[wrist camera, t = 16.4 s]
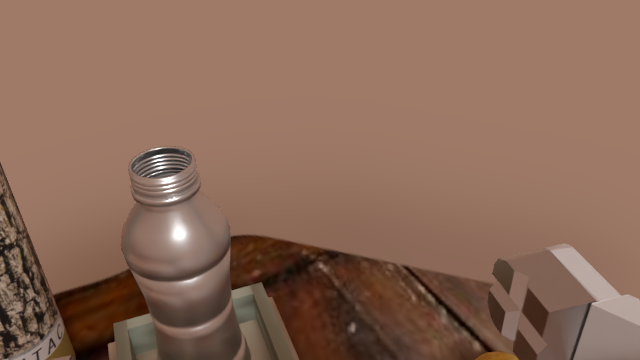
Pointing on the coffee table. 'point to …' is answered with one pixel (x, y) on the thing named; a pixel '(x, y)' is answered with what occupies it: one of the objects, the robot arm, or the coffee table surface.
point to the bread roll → (497, 356)
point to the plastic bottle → (181, 259)
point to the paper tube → (25, 293)
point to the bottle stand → (253, 317)
